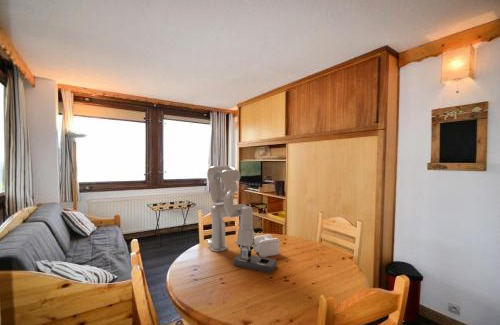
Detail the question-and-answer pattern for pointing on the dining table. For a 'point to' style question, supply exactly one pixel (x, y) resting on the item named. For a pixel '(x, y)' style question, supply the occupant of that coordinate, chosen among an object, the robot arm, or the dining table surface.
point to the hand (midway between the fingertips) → (245, 255)
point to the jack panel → (256, 263)
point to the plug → (245, 253)
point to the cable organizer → (267, 245)
